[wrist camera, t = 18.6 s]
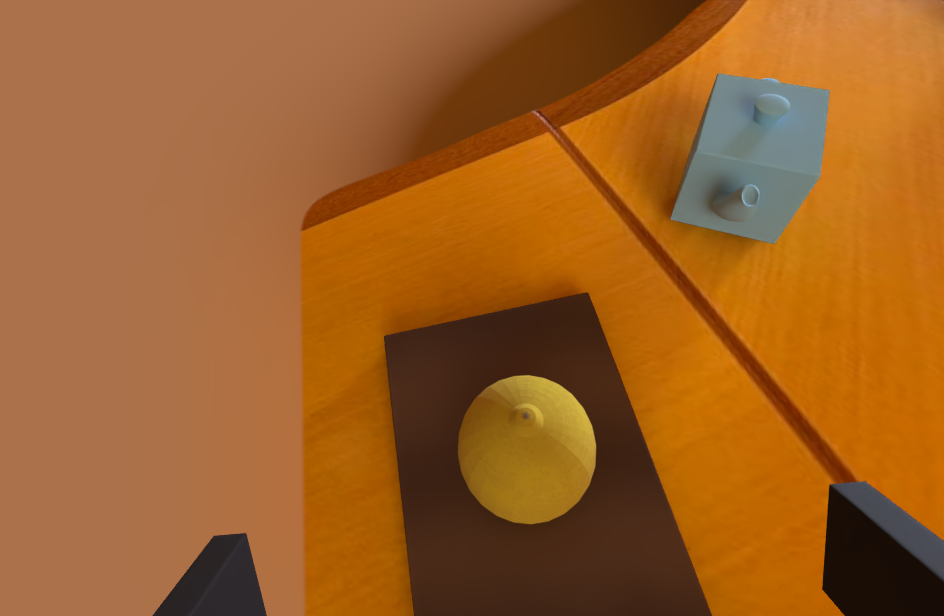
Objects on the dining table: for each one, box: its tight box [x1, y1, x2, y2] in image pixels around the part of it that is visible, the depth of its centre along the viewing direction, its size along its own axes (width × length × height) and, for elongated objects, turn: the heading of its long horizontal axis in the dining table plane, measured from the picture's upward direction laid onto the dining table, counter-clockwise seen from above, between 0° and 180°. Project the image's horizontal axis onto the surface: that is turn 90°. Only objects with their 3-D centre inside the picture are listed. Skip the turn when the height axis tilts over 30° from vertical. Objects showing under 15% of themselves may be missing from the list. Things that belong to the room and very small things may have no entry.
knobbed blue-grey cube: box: [670, 73, 830, 244], centre depth 29 cm, size 12×6×8 cm, turn 157°
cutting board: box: [384, 293, 712, 616], centre depth 24 cm, size 18×12×2 cm, turn 11°
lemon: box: [458, 375, 596, 524], centre depth 20 cm, size 6×6×8 cm
